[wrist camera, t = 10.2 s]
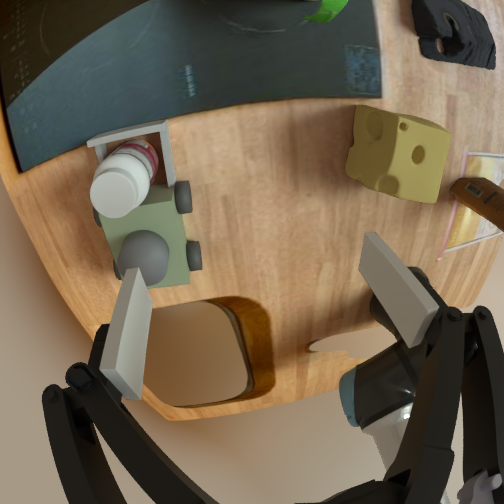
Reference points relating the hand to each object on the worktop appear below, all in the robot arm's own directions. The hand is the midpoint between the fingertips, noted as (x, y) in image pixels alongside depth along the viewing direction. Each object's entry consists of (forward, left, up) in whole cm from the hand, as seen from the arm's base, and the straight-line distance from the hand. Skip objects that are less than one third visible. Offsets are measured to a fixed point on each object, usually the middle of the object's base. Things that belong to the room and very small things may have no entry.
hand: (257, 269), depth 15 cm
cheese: (+2, -22, -22) cm, 31 cm away
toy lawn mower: (-4, +11, -22) cm, 25 cm away
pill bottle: (+1, +11, -22) cm, 25 cm away
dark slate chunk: (+25, -39, -23) cm, 51 cm away
